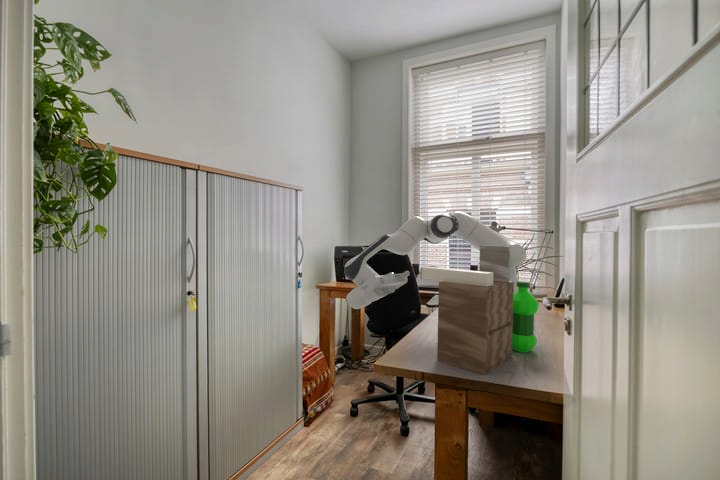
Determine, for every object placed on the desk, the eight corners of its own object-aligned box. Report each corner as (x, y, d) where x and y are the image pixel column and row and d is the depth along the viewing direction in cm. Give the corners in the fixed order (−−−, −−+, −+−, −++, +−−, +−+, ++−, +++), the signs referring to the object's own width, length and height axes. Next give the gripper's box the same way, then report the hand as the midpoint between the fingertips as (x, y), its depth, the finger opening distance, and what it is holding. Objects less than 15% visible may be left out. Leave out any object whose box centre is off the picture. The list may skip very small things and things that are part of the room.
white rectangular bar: (427, 277, 125) (427, 266, 125) (493, 285, 108) (493, 272, 108) (420, 278, 122) (420, 267, 122) (486, 286, 105) (487, 273, 105)
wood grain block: (468, 345, 130) (470, 244, 129) (511, 356, 119) (514, 246, 118) (437, 360, 114) (439, 245, 113) (484, 375, 103) (487, 247, 102)
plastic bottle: (528, 357, 119) (530, 284, 119) (500, 348, 128) (502, 280, 127) (542, 351, 125) (544, 282, 125) (515, 343, 134) (516, 279, 133)
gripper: (355, 282, 132) (379, 267, 124) (389, 278, 147) (413, 264, 139) (361, 298, 130) (386, 283, 122) (394, 292, 145) (419, 279, 137)
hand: (400, 273), depth 131 cm, fingers open, 8 cm apart
